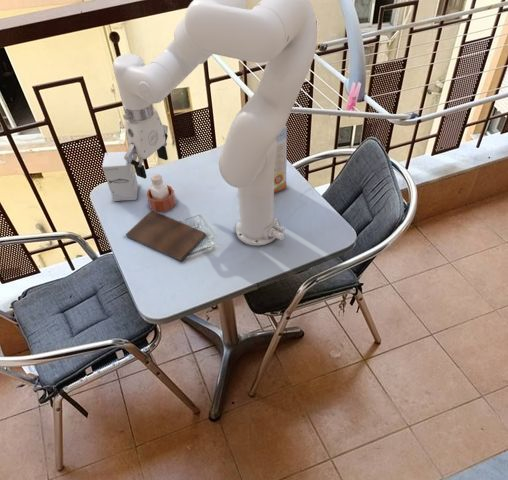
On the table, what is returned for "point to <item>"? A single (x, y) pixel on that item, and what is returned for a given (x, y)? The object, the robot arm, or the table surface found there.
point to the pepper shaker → (158, 188)
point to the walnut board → (166, 235)
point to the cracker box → (280, 161)
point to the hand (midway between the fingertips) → (152, 167)
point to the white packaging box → (120, 176)
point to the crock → (162, 201)
